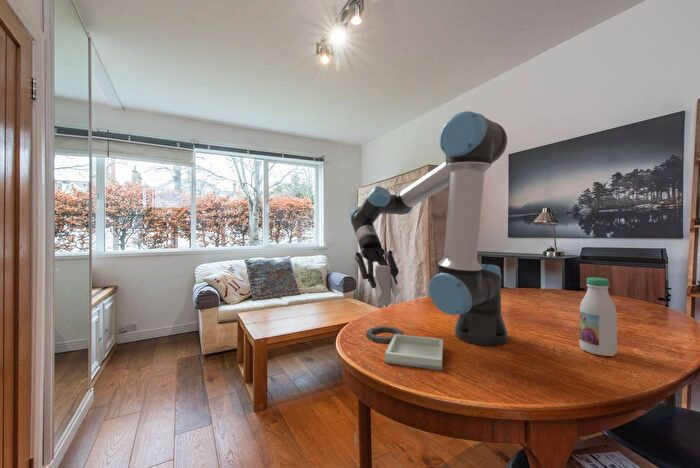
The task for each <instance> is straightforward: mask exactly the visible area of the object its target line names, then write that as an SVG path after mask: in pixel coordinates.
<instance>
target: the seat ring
mask: <svg viewBox="0 0 700 468" xmlns="http://www.w3.org/2000/svg"><path fill="white" fill-rule="evenodd" d="M381 332H386V333H387V332H388V333H391V334H392V333H393V334H400V335H404V332H403V331H402V330H400V329H399V328H397V327H394V326H386V325H385V326H383V325H382V326H380V325H379V326H375V327H370V328H369V329H368V330H367V331H366V334H365V335H366V338H367V339H369V340H370V341H371V342H374V343H383V344H390V342H391V340H392V338H393V336H394V335H392V336H388V337H387V336H386V337H385V336H376V335H375V334H376V333H381Z"/></svg>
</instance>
